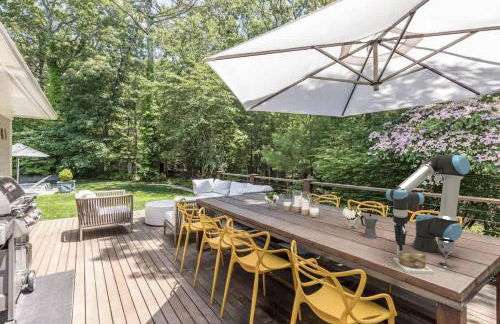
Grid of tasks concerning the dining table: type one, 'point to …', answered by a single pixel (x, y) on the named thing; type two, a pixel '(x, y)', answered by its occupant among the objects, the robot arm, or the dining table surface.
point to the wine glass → (446, 249)
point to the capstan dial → (412, 260)
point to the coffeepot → (369, 226)
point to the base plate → (414, 270)
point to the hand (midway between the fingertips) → (399, 255)
